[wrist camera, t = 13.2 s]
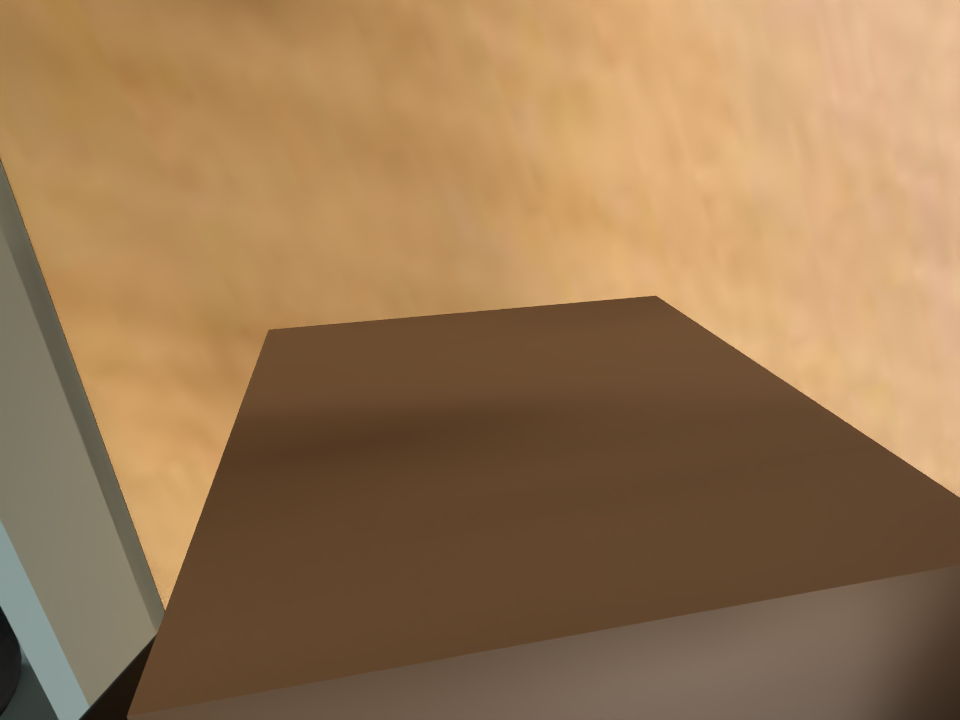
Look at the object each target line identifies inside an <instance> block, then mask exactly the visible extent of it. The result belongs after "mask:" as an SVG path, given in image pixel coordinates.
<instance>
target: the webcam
mask: <svg viewBox="0 0 960 720" xmlns="http://www.w3.org/2000/svg"><path fill="white" fill-rule="evenodd" d="M21 663H22V655H21V651H20V646H19V643H18V640H17V638H16V635H15V634H14V632H13V630H12V628H11V627H10V625H9V623H8V622H7V620H6V618H5V617H4V616H3V615H2V614H1V613H0V716H1V715H2V714H3V712H4V711H5V710H6V708H7V706H8V704H9V703H10V701H11V699H12V697H13V696H14V694H15V692H16V689H17V685H18V682H19V678H20V674H21Z"/></svg>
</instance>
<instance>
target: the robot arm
mask: <svg viewBox="0 0 960 720" xmlns="http://www.w3.org/2000/svg"><path fill="white" fill-rule="evenodd" d="M156 635H157V634H156ZM156 635H155V636H154V637H153V638H152V639H151V640H150V642H149V643H148V644H147V645H146V646H145V647H144V648H143V649H142V650H141V651H140V653H139V654H138V655H137V656H136V657H135V658H134V659H133V660H132V661H131V662H130V664H129V665H128V666H127V667H126V668H125V669H124V670H123V671H122V672H121V673H120V674H119V676H118V677H117V678H116V679H115V680H114V681H113V682H112V683H111V684H110V685H109V687H108V688H107V689H106V690H105V691H104V692H103V693H102V694H101V695H100V696H99V698H98V699H97V700H96V701H95V702H94V703H93V704H92V705H91V706H90V707H89V709H88V710H87V711H86V712H85V713H84V714H83V715H82V716H81V717H80V718H79V720H128V719H127V714H128V711H129V709H130V706H131V703H132V701H133V698H134V695H135V692H136V690H137V687H138V684H139V681H140V679H141V676H142V673H143V671H144V668H145V665H146V662H147V660H148V657H149V654H150V652H151V649H152V646H153V643H154V641H155V638H156Z"/></svg>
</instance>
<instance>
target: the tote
mask: <svg viewBox="0 0 960 720" xmlns="http://www.w3.org/2000/svg"><path fill="white" fill-rule="evenodd" d="M0 613H1V614H2V615H3V616H4V617H5V618H6V620H7V622H8V623H9V625H10V627H11V628H12V630H13V632H14V634H15V635H16V638H17V640H18V643H19V646H20V651H21V655H22V663H21V674H20V678H19V682H18V685H17V689H16V692H15V694H14V696H13V697H12V699H11V701H10V703H9V704H8V706H7V708H6V710H5V711H4V712H3V714H2V715H1V716H0V720H79V718H80V717H81V716H82V715H83V714H84V713H85V712H86V711H87V710H88V709H89V707H90V706H91V705H92V704H93V703H94V702H95V701H96V700H97V699H98V698H99V696H100V695H101V694H102V693H103V692H104V691H105V690H106V689H107V688H108V687H109V685H110V684H111V683H112V682H113V681H114V680H115V679H116V678H117V677H118V676H119V674H120V673H121V672H122V671H123V670H124V669H125V668H126V667H127V666H128V665H129V664H130V662H131V661H132V660H133V659H134V658H135V657H136V656H137V655H138V654H139V653H140V651H141V650H142V649H143V648H144V647H145V646H146V645H147V644H148V643H149V642H150V640H151V639H152V638H153V637H154V636H155V635H156V634H157V633H158V630H159V627H160V624H161V622H162V619H163V616H164V613H165V610H164V608H163V605H162V602H161V599H160V597H159V594H158V591H157V588H156V586H155V583H154V580H153V577H152V575H151V572H150V569H149V566H148V564H147V561H146V558H145V555H144V553H143V550H142V547H141V544H140V542H139V539H138V536H137V533H136V531H135V528H134V525H133V523H132V520H131V517H130V514H129V512H128V509H127V506H126V503H125V501H124V498H123V495H122V492H121V490H120V487H119V484H118V481H117V479H116V476H115V473H114V470H113V468H112V465H111V462H110V459H109V457H108V454H107V451H106V448H105V446H104V443H103V440H102V437H101V435H100V432H99V429H98V426H97V424H96V421H95V418H94V415H93V413H92V410H91V407H90V404H89V402H88V399H87V396H86V393H85V391H84V388H83V385H82V382H81V380H80V377H79V374H78V371H77V369H76V366H75V363H74V361H73V358H72V355H71V352H70V350H69V347H68V344H67V341H66V339H65V336H64V333H63V330H62V328H61V325H60V322H59V319H58V317H57V314H56V311H55V308H54V306H53V303H52V300H51V297H50V295H49V292H48V289H47V286H46V284H45V281H44V278H43V275H42V273H41V270H40V267H39V264H38V262H37V259H36V256H35V253H34V251H33V248H32V245H31V242H30V240H29V237H28V234H27V231H26V229H25V226H24V223H23V220H22V218H21V215H20V212H19V209H18V207H17V204H16V201H15V199H14V196H13V193H12V190H11V188H10V185H9V182H8V179H7V177H6V174H5V171H4V168H3V166H2V163H1V160H0Z"/></svg>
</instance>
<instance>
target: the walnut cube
mask: <svg viewBox="0 0 960 720" xmlns="http://www.w3.org/2000/svg"><path fill="white" fill-rule="evenodd" d="M127 719H128V720H960V498H959V497H958V496H956V495H955V494H953V493H952V492H950V491H949V490H947V489H946V488H944V487H943V486H941V485H940V484H938V483H937V482H935V481H934V480H932V479H931V478H929V477H928V476H926V475H925V474H923V473H922V472H920V471H919V470H917V469H916V468H914V467H913V466H911V465H910V464H908V463H907V462H905V461H904V460H902V459H901V458H899V457H898V456H896V455H895V454H893V453H892V452H890V451H889V450H887V449H886V448H884V447H883V446H881V445H880V444H878V443H877V442H875V441H874V440H872V439H871V438H869V437H868V436H866V435H865V434H863V433H862V432H860V431H859V430H857V429H856V428H854V427H853V426H851V425H850V424H848V423H847V422H845V421H844V420H842V419H841V418H839V417H838V416H836V415H835V414H833V413H832V412H830V411H829V410H827V409H825V408H824V407H822V406H821V405H819V404H818V403H816V402H815V401H813V400H812V399H810V398H809V397H807V396H806V395H804V394H803V393H801V392H800V391H798V390H797V389H795V388H794V387H792V386H791V385H789V384H788V383H786V382H785V381H783V380H782V379H780V378H779V377H777V376H776V375H774V374H773V373H771V372H770V371H768V370H767V369H765V368H764V367H762V366H761V365H759V364H758V363H756V362H755V361H753V360H752V359H750V358H749V357H747V356H746V355H744V354H743V353H741V352H740V351H738V350H737V349H735V348H734V347H732V346H731V345H729V344H728V343H726V342H725V341H723V340H722V339H720V338H719V337H717V336H716V335H714V334H713V333H711V332H710V331H708V330H707V329H705V328H704V327H702V326H701V325H699V324H698V323H696V322H695V321H693V320H692V319H690V318H689V317H687V316H686V315H684V314H683V313H681V312H680V311H678V310H677V309H675V308H674V307H672V306H671V305H669V304H668V303H666V302H665V301H663V300H662V299H660V298H659V297H657V296H648V297H637V298H625V299H614V300H602V301H591V302H580V303H568V304H557V305H546V306H534V307H523V308H512V309H500V310H489V311H478V312H466V313H455V314H444V315H432V316H421V317H410V318H398V319H387V320H376V321H364V322H353V323H341V324H330V325H319V326H307V327H296V328H285V329H273V330H269V331H268V333H267V336H266V339H265V341H264V344H263V347H262V350H261V352H260V355H259V358H258V360H257V363H256V366H255V369H254V371H253V374H252V377H251V380H250V382H249V385H248V388H247V390H246V393H245V396H244V399H243V401H242V404H241V407H240V409H239V412H238V415H237V418H236V420H235V423H234V426H233V429H232V431H231V434H230V437H229V439H228V442H227V445H226V448H225V450H224V453H223V456H222V458H221V461H220V464H219V467H218V469H217V472H216V475H215V477H214V480H213V483H212V486H211V488H210V491H209V494H208V497H207V499H206V502H205V505H204V507H203V510H202V513H201V516H200V518H199V521H198V524H197V526H196V529H195V532H194V535H193V537H192V540H191V543H190V545H189V548H188V551H187V554H186V556H185V559H184V562H183V565H182V567H181V570H180V573H179V575H178V578H177V581H176V584H175V586H174V589H173V592H172V594H171V597H170V600H169V603H168V605H167V608H166V611H165V613H164V616H163V619H162V622H161V624H160V627H159V630H158V633H157V635H156V638H155V641H154V643H153V646H152V649H151V652H150V654H149V657H148V660H147V662H146V665H145V668H144V671H143V673H142V676H141V679H140V681H139V684H138V687H137V690H136V692H135V695H134V698H133V701H132V703H131V706H130V709H129V711H128V714H127Z"/></svg>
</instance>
